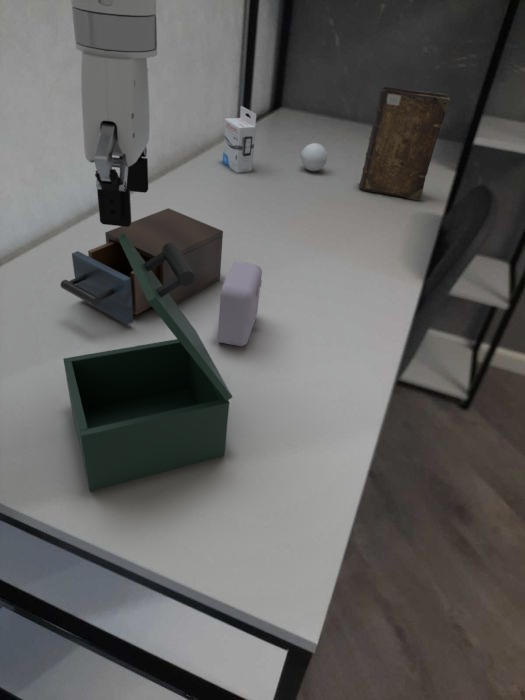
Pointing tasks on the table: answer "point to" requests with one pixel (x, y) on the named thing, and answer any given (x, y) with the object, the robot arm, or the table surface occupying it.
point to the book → (402, 141)
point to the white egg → (314, 157)
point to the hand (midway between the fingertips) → (126, 206)
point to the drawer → (109, 281)
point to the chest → (143, 412)
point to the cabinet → (190, 238)
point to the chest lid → (173, 303)
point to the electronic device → (239, 303)
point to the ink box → (239, 141)
